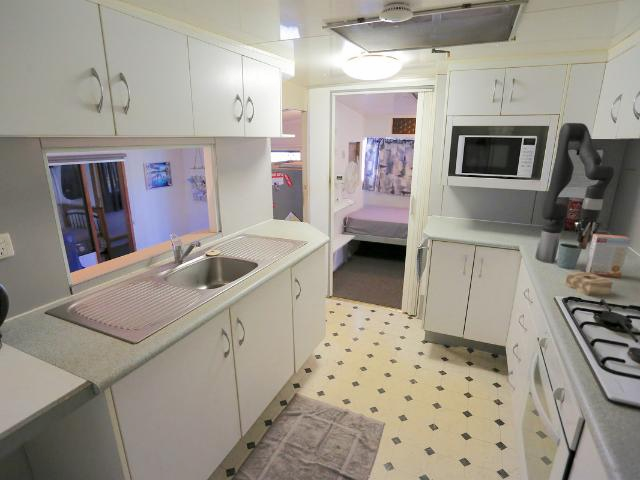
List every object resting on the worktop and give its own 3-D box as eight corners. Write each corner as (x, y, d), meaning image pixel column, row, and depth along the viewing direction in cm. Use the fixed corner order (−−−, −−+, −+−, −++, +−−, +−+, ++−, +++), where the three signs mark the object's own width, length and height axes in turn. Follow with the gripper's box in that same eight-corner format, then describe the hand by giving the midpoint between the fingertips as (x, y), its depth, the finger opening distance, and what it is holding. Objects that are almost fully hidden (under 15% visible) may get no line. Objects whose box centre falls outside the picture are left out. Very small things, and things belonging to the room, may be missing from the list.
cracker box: (615, 274, 188) (625, 235, 182) (620, 278, 183) (631, 238, 177) (583, 270, 192) (593, 233, 186) (588, 274, 187) (597, 235, 181)
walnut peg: (576, 247, 178) (581, 226, 175) (581, 247, 179) (586, 225, 176) (582, 249, 175) (587, 227, 172) (587, 249, 176) (592, 227, 173)
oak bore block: (565, 285, 172) (567, 273, 171) (585, 283, 175) (588, 272, 173) (587, 295, 161) (591, 283, 159) (609, 293, 164) (612, 281, 162)
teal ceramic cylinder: (552, 266, 198) (556, 245, 195) (558, 262, 205) (563, 242, 201) (573, 271, 191) (578, 249, 188) (579, 267, 197) (584, 246, 194)
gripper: (596, 205, 176) (588, 239, 181) (572, 206, 173) (564, 240, 178) (611, 208, 169) (602, 243, 174) (586, 209, 166) (578, 245, 171)
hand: (583, 242), depth 176 cm, fingers closed on walnut peg, 3 cm apart
